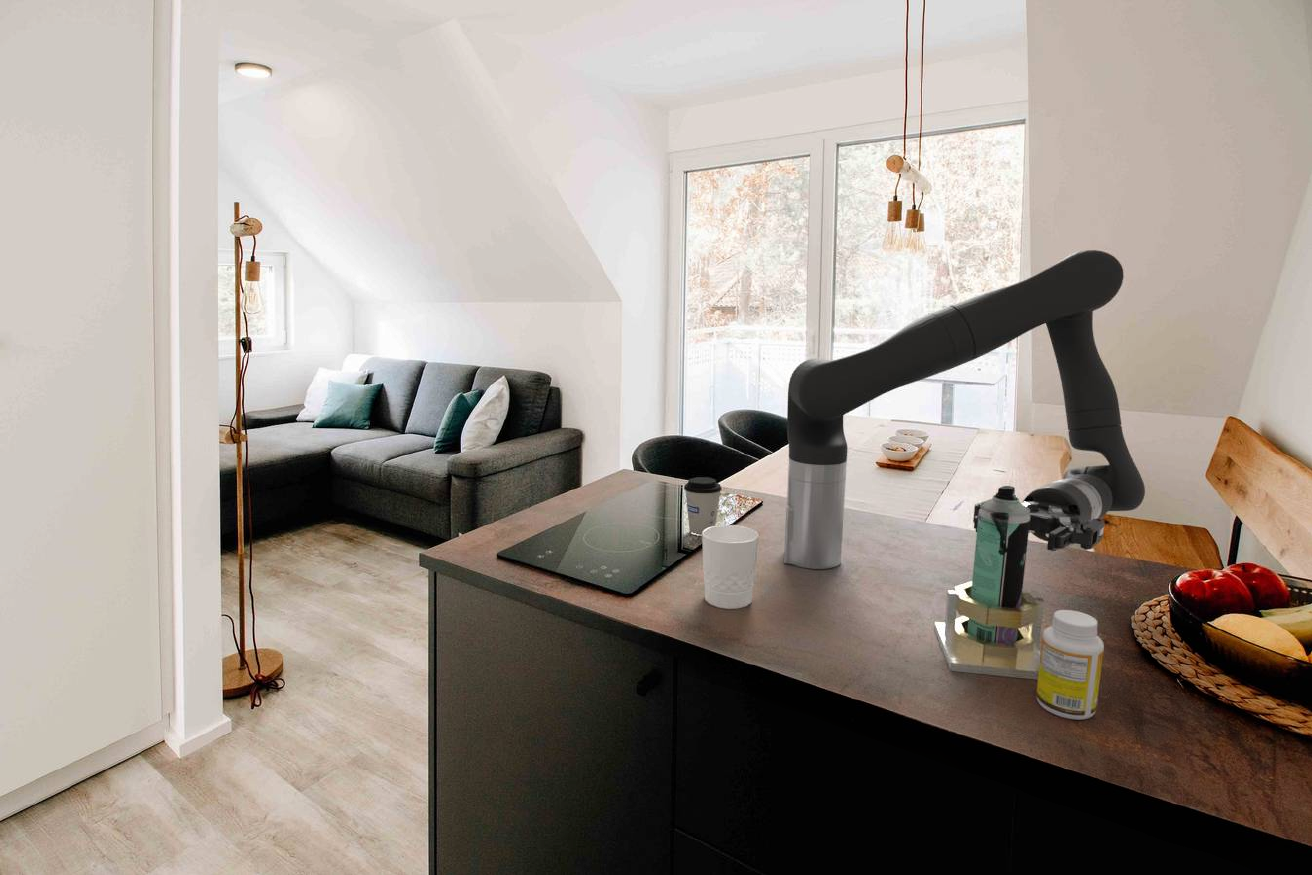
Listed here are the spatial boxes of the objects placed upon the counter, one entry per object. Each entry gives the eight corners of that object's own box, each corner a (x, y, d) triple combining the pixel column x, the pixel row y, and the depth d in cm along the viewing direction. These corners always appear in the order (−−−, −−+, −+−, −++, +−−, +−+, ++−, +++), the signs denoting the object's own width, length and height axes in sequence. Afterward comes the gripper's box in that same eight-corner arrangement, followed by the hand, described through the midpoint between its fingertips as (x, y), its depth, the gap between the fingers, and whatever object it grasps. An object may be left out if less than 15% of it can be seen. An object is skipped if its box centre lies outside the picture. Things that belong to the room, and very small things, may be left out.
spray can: (1021, 658, 84) (1039, 494, 80) (972, 653, 85) (988, 491, 81) (1008, 637, 89) (1025, 482, 85) (962, 632, 90) (976, 480, 86)
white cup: (760, 592, 104) (763, 528, 103) (749, 614, 97) (751, 545, 95) (708, 585, 107) (710, 522, 105) (694, 606, 100) (695, 538, 98)
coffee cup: (715, 525, 136) (716, 475, 134) (725, 537, 129) (726, 484, 127) (679, 527, 134) (680, 476, 132) (687, 539, 128) (688, 485, 126)
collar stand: (950, 670, 83) (955, 610, 81) (934, 628, 93) (938, 575, 92) (1053, 681, 80) (1060, 619, 79) (1024, 637, 91) (1030, 582, 90)
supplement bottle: (1068, 690, 78) (1079, 604, 77) (1108, 719, 73) (1121, 627, 71) (1023, 695, 78) (1033, 608, 76) (1060, 724, 72) (1072, 631, 70)
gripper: (1011, 472, 102) (959, 492, 91) (1125, 492, 91) (1081, 517, 81) (1006, 522, 103) (954, 548, 92) (1118, 548, 93) (1074, 579, 82)
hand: (1013, 533), depth 87 cm, fingers open, 8 cm apart
